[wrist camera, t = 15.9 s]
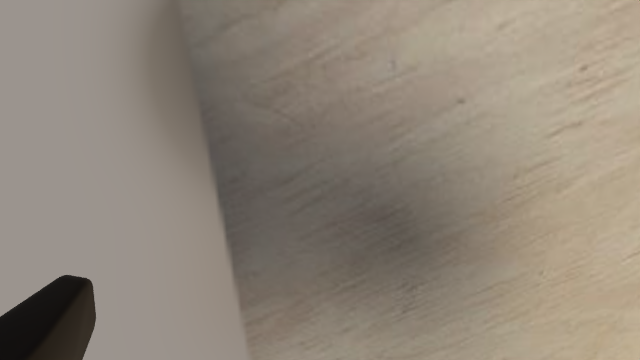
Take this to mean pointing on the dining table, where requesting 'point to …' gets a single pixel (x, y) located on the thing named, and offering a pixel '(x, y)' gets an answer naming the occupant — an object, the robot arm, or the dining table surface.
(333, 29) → the dining table surface
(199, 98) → the dining table surface
